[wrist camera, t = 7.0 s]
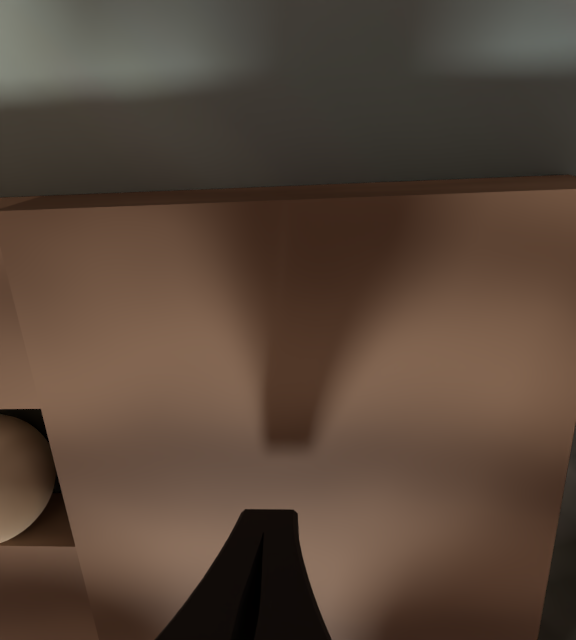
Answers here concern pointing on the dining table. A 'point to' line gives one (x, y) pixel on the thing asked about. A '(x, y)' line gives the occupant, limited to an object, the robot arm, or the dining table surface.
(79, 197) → the board
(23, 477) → the ball
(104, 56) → the dining table surface
